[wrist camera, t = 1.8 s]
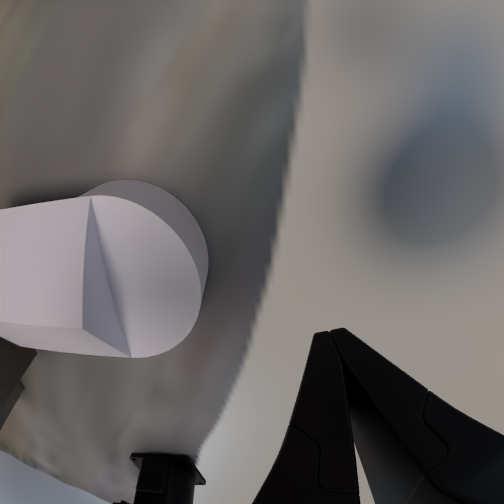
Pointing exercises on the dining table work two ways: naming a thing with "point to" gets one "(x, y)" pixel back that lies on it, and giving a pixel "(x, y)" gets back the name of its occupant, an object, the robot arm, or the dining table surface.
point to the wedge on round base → (102, 272)
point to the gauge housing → (10, 403)
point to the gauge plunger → (12, 366)
